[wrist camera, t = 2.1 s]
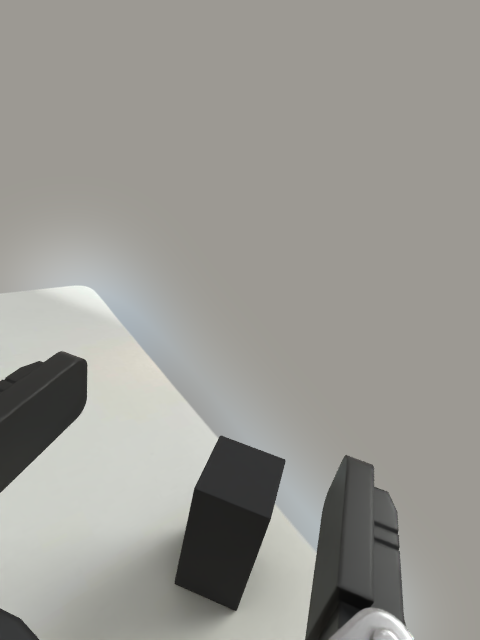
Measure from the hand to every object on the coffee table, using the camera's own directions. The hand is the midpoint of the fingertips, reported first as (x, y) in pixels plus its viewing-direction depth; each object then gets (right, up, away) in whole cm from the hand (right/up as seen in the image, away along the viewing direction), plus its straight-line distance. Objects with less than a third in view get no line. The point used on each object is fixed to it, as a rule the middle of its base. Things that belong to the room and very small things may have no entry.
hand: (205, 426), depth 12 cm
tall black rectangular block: (-1, -16, +20) cm, 26 cm away
